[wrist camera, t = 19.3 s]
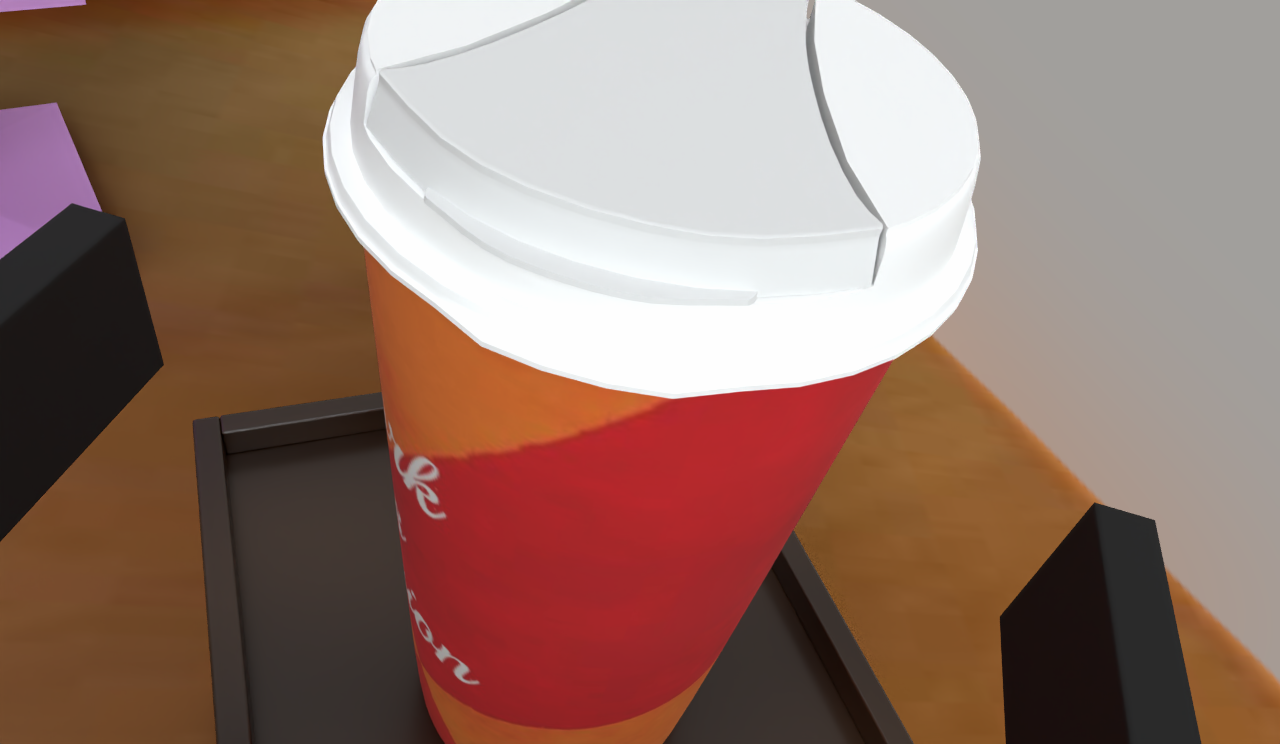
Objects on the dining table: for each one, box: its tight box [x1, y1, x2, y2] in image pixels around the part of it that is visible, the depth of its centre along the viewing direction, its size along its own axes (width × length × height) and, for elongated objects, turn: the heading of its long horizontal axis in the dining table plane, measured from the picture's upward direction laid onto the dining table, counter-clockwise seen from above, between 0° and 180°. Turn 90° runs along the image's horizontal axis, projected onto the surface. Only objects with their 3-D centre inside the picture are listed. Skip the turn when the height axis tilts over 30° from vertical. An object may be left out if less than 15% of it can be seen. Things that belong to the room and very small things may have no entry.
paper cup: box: [323, 0, 981, 744], centre depth 15 cm, size 8×8×14 cm
